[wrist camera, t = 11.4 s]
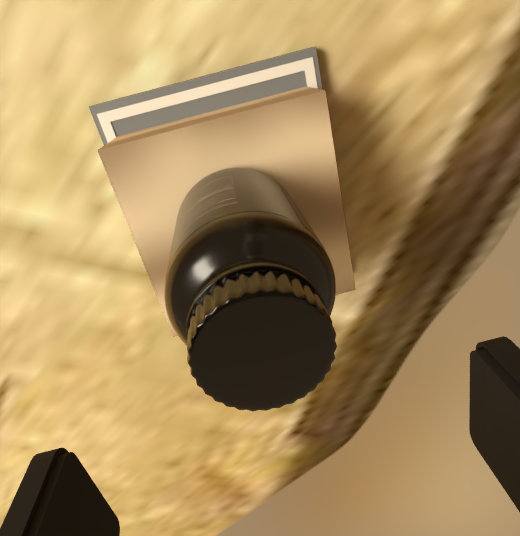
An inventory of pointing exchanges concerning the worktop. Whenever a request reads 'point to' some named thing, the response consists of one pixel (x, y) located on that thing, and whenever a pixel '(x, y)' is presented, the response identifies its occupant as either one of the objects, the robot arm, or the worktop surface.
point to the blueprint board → (207, 93)
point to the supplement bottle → (250, 292)
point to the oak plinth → (231, 156)
